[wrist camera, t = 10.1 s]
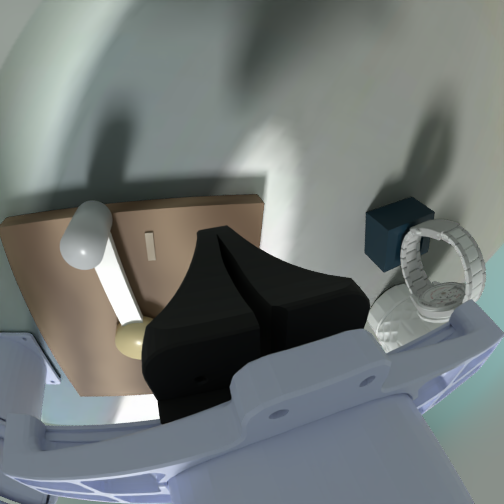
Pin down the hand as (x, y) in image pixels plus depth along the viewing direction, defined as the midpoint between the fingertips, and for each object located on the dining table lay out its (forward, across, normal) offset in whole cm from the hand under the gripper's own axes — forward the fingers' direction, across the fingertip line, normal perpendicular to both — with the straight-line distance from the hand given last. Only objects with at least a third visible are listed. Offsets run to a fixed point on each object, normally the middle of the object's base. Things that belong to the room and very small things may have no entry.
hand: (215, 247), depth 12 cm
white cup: (+7, -20, +17) cm, 27 cm away
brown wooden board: (+7, +6, +10) cm, 14 cm away
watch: (+7, -16, +6) cm, 19 cm away
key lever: (+5, +6, +5) cm, 10 cm away
